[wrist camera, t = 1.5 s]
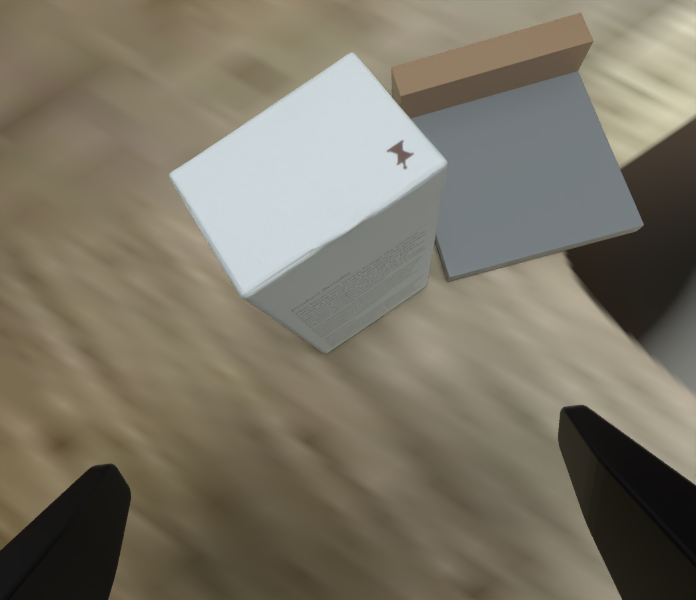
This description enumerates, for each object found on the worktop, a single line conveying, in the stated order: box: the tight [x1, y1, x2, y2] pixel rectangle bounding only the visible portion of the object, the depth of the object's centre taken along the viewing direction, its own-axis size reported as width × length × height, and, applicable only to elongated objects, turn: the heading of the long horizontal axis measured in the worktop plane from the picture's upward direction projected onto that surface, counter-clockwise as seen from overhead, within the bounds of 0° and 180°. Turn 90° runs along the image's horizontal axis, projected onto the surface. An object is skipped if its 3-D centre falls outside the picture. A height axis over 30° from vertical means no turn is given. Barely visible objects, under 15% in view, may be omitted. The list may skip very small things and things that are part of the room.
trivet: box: [391, 13, 644, 282], centre depth 23 cm, size 10×9×3 cm
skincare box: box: [169, 53, 447, 354], centre depth 18 cm, size 6×4×12 cm
